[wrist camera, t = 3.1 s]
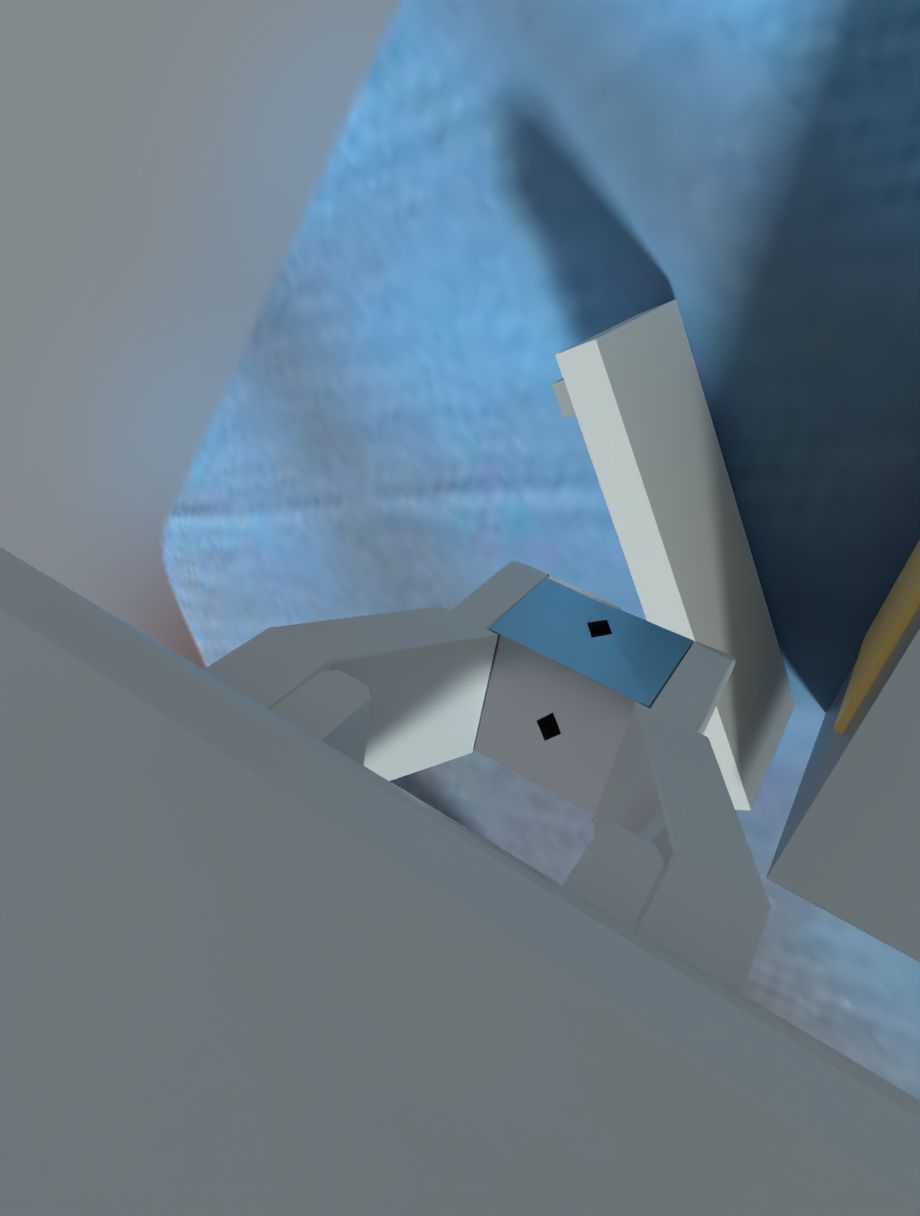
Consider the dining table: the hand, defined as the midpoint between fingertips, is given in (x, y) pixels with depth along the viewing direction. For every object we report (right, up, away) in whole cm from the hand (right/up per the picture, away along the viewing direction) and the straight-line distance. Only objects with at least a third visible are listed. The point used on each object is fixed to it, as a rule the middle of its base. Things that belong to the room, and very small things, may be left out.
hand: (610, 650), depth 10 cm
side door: (+5, +3, +12) cm, 14 cm away
